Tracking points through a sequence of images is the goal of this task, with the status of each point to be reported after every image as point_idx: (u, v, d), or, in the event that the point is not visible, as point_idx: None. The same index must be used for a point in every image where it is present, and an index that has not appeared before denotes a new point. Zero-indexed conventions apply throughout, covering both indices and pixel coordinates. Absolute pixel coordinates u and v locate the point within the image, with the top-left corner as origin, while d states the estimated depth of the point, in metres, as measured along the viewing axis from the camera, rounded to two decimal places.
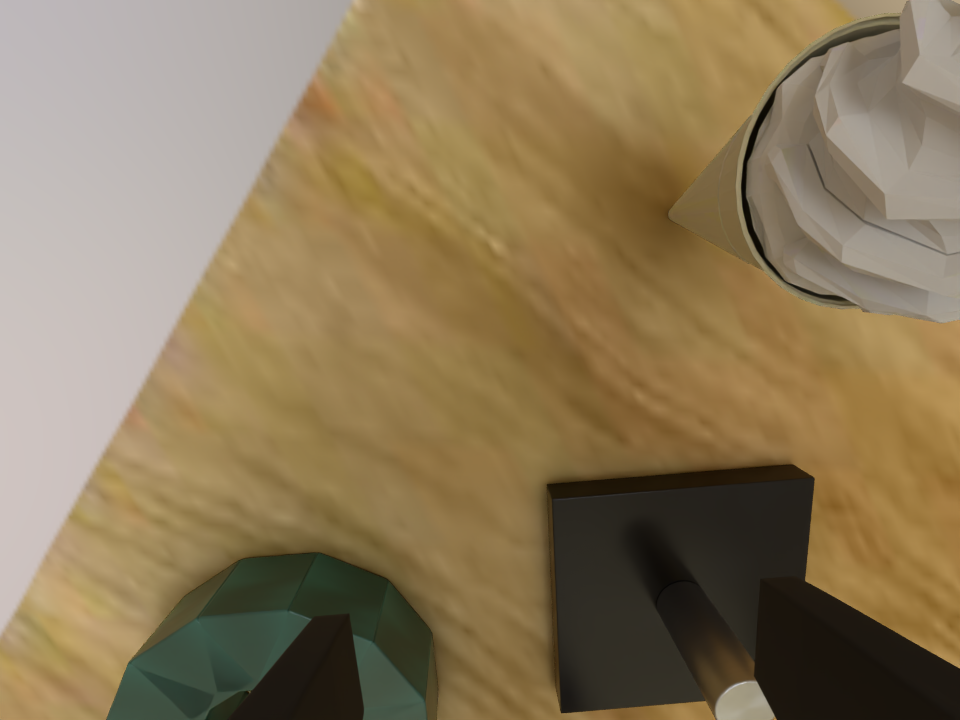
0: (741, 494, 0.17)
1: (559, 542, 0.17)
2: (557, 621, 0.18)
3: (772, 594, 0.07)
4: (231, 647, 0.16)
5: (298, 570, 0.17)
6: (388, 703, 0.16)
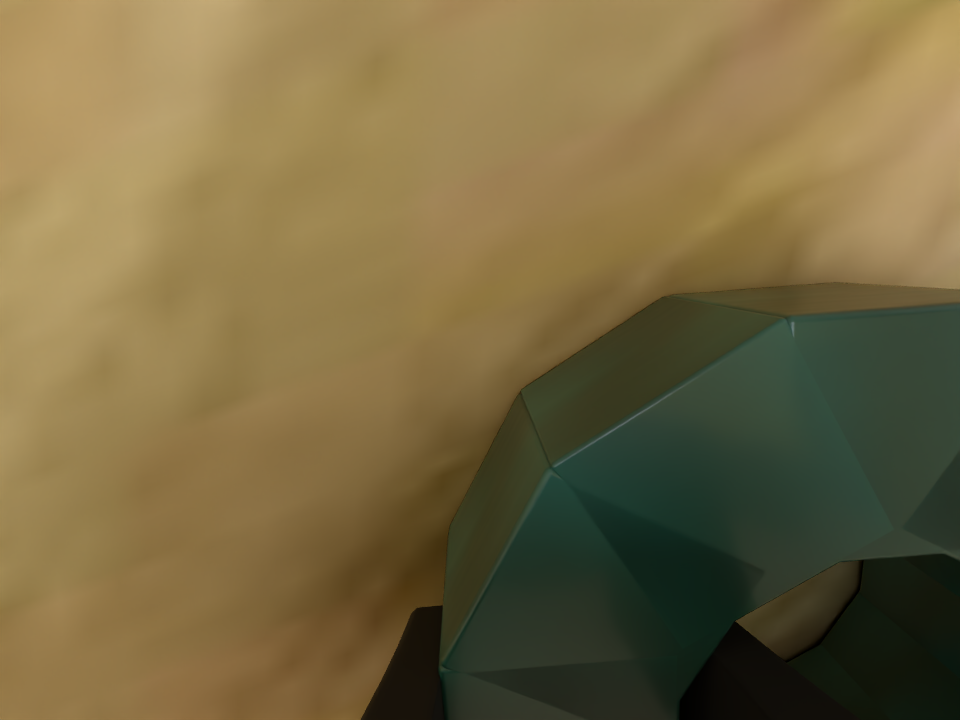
0: None
1: None
2: None
3: None
4: None
5: None
6: None
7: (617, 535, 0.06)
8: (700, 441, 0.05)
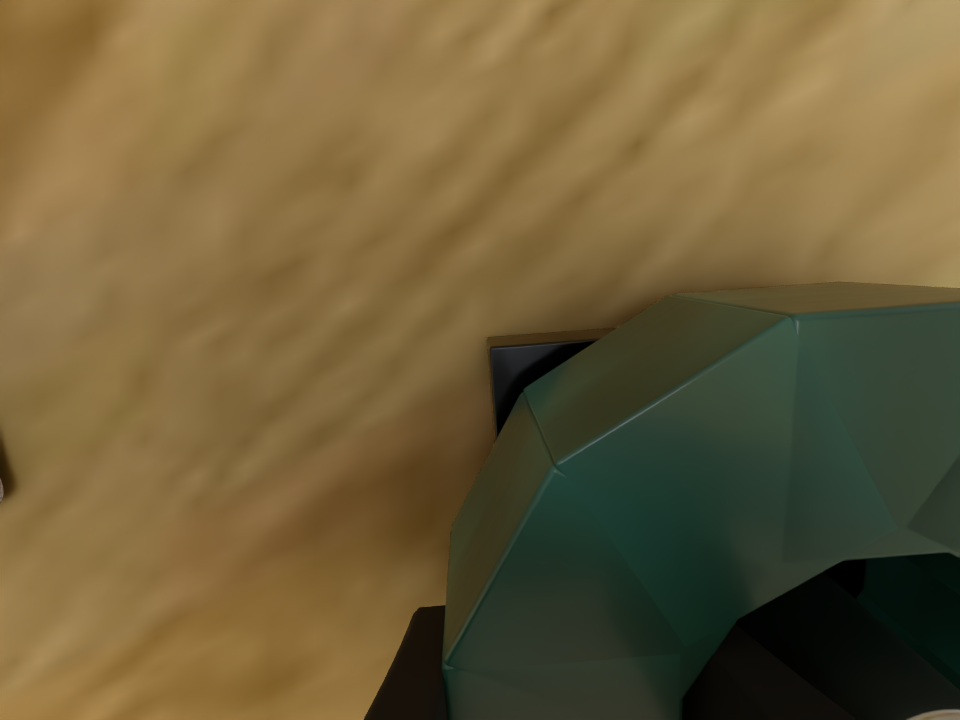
0: None
1: None
2: None
3: None
4: None
5: None
6: None
7: (621, 534, 0.06)
8: (704, 439, 0.05)
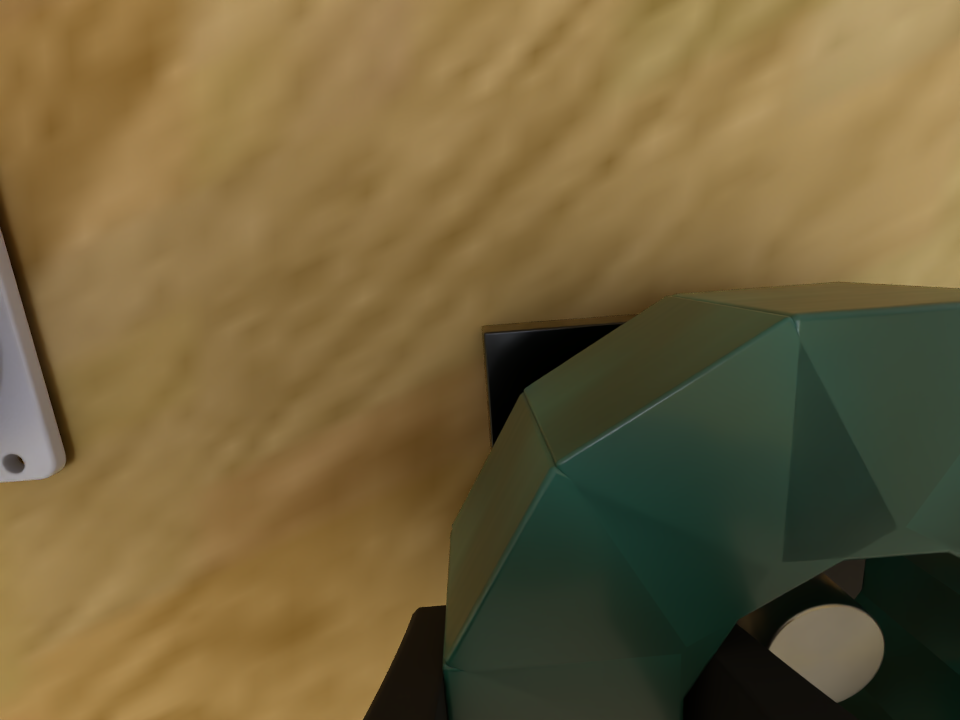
0: (859, 571, 0.12)
1: None
2: None
3: None
4: None
5: None
6: None
7: (621, 533, 0.06)
8: (705, 439, 0.05)
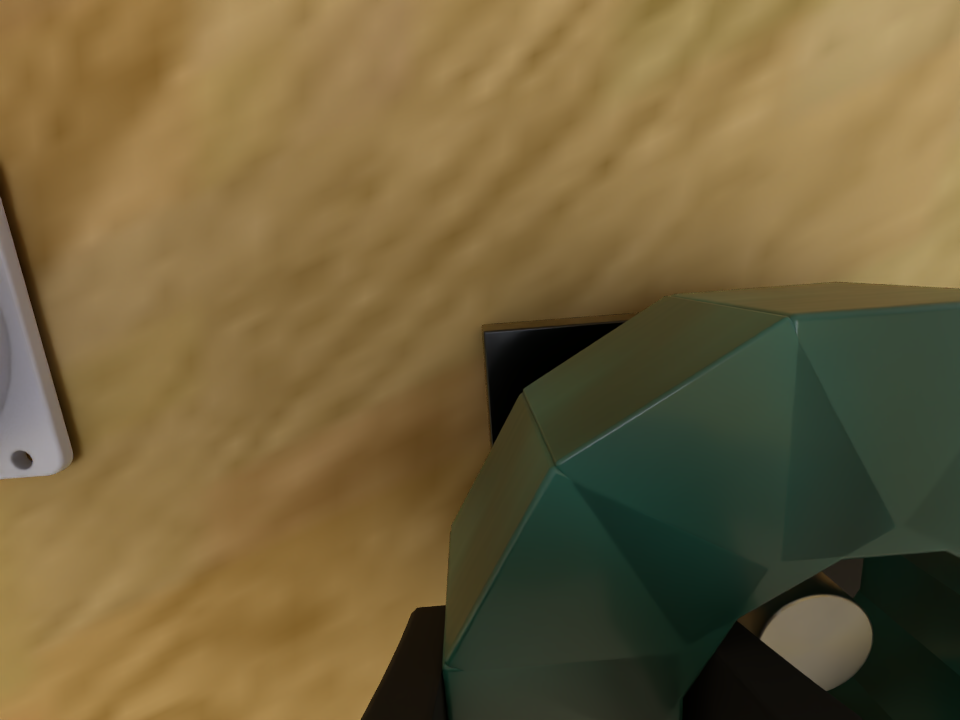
0: (852, 566, 0.12)
1: None
2: None
3: None
4: None
5: None
6: None
7: (621, 533, 0.06)
8: (704, 439, 0.05)
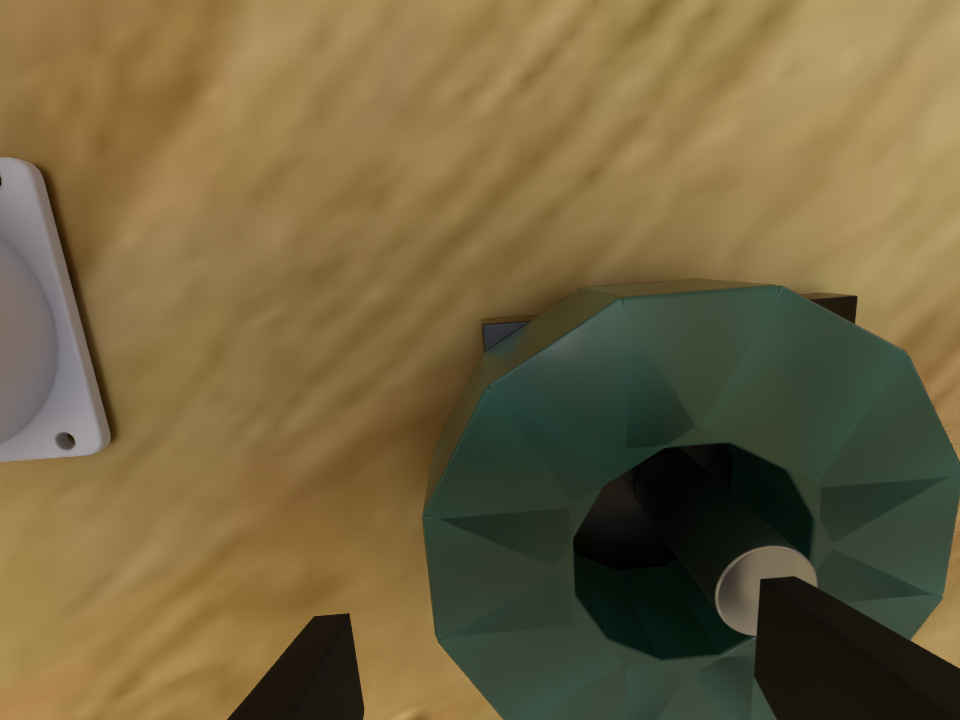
0: None
1: None
2: None
3: (772, 594, 0.07)
4: (901, 515, 0.10)
5: None
6: (753, 717, 0.11)
7: (528, 429, 0.09)
8: (575, 371, 0.09)
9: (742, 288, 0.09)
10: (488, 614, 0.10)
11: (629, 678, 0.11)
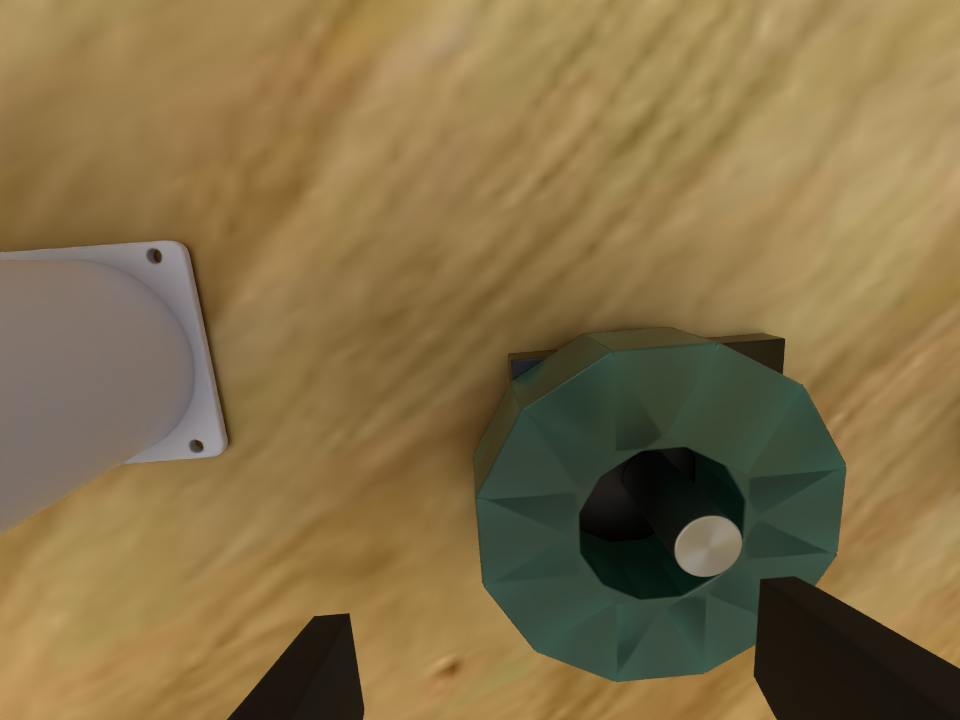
0: None
1: (735, 348, 0.16)
2: None
3: (772, 594, 0.07)
4: (805, 497, 0.14)
5: None
6: (706, 641, 0.15)
7: (549, 438, 0.14)
8: (580, 399, 0.13)
9: (692, 344, 0.13)
10: (520, 567, 0.14)
11: (618, 613, 0.15)
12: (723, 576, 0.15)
